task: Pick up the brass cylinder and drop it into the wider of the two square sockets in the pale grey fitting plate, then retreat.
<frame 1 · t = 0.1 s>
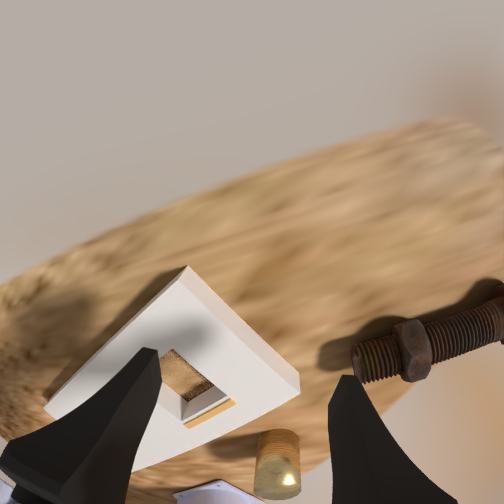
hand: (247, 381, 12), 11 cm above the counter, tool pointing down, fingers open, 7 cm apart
brass cylinder: (278, 441, 27), on the counter
bolt: (433, 321, 22), on the counter
fitting plate: (149, 392, 26), on the counter
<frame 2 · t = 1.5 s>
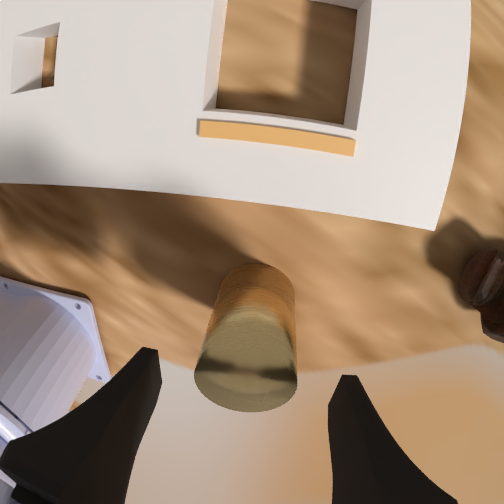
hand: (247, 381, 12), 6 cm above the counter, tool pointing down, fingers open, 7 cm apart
brass cylinder: (256, 296, 17), on the counter
fitting plate: (171, 48, 12), on the counter
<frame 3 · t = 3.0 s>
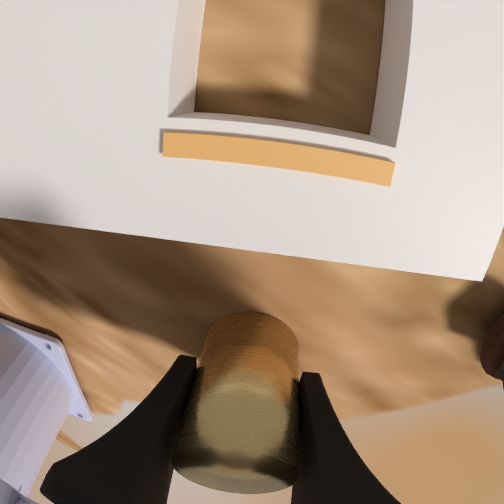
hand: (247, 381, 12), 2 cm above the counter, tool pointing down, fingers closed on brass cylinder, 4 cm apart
brass cylinder: (251, 348, 13), on the counter, touching gripper
fitting plate: (135, 33, 8), on the counter
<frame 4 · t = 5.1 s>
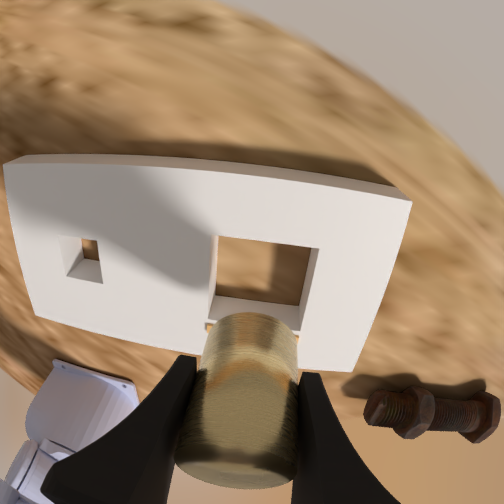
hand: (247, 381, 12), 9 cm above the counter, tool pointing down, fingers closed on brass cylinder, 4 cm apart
brass cylinder: (251, 347, 14), point 7 cm above the counter, touching gripper
bolt: (430, 393, 25), on the counter
fitting plate: (181, 253, 20), on the counter
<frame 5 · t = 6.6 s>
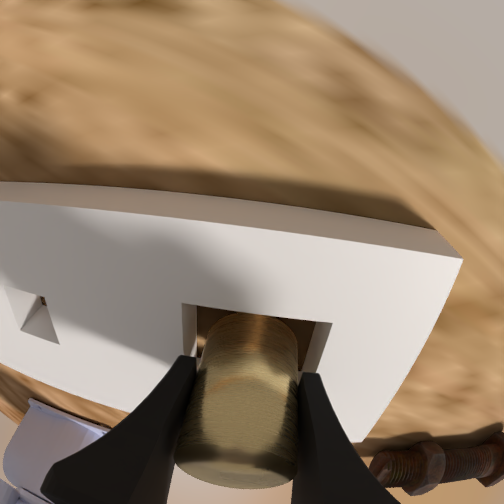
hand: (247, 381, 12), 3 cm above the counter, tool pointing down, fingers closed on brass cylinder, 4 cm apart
brass cylinder: (251, 346, 14), point 1 cm above the counter, touching gripper
bolt: (442, 442, 21), on the counter
fitting plate: (152, 309, 15), on the counter
when the fingers open (3 cm above the counter, at t = 7.6 s): brass cylinder drops 1 cm, resting in fitting plate.
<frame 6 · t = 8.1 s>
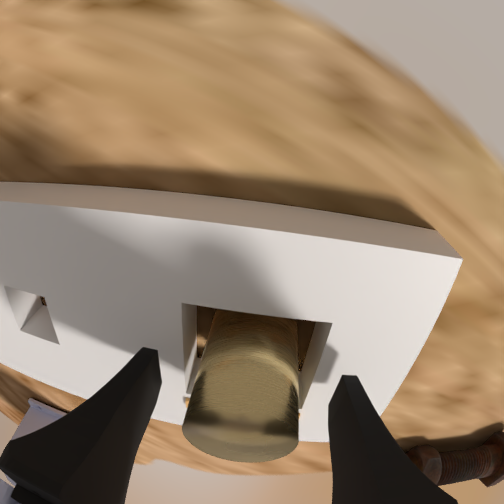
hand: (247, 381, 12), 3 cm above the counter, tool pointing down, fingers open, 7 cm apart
brass cylinder: (254, 328, 15), resting in fitting plate
bolt: (441, 445, 21), on the counter
fitting plate: (152, 310, 15), on the counter
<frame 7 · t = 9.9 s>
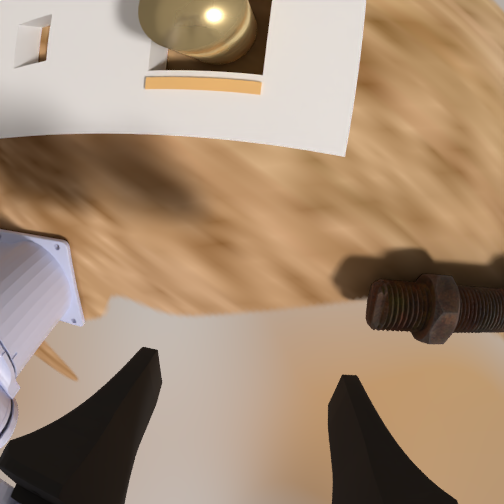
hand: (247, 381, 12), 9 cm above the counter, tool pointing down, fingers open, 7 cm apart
brass cylinder: (219, 30, 14), resting in fitting plate
bolt: (454, 288, 20), on the counter
fitting plate: (134, 30, 14), on the counter
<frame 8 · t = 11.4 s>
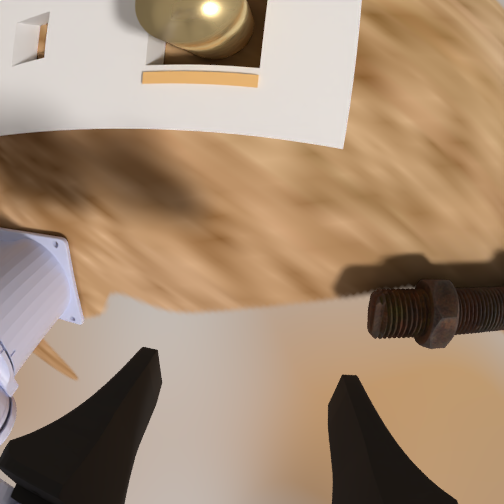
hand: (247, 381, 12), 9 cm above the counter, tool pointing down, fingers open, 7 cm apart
brass cylinder: (216, 25, 14), resting in fitting plate
bolt: (456, 289, 20), on the counter
fitting plate: (131, 27, 14), on the counter
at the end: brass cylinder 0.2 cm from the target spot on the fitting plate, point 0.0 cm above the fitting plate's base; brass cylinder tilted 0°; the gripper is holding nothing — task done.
